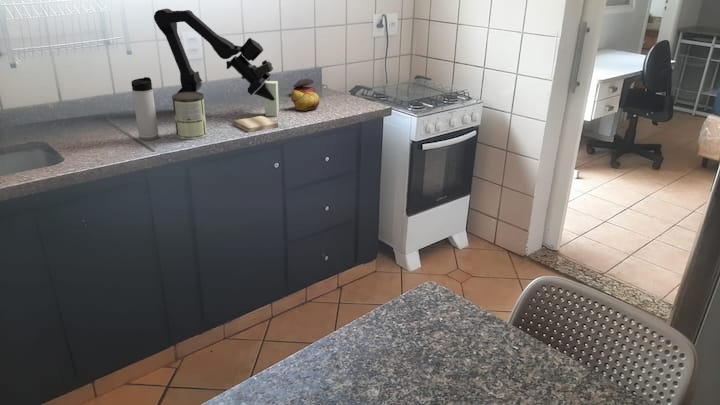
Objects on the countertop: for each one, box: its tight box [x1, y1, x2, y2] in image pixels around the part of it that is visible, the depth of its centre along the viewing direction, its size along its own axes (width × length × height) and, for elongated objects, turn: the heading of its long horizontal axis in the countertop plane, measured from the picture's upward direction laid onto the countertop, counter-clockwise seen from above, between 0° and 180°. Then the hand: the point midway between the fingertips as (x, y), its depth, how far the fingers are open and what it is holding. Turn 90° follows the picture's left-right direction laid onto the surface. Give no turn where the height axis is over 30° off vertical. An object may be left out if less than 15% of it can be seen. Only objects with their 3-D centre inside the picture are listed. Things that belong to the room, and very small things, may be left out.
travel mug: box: [131, 76, 160, 142], centre depth 181 cm, size 6×7×20 cm
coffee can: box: [171, 91, 208, 140], centre depth 186 cm, size 10×10×14 cm
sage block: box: [264, 80, 280, 117], centre depth 214 cm, size 4×4×13 cm
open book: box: [233, 115, 279, 133], centre depth 202 cm, size 12×12×2 cm
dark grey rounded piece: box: [292, 78, 316, 93], centre depth 248 cm, size 11×10×10 cm
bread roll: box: [290, 90, 320, 112], centre depth 226 cm, size 13×10×8 cm
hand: (275, 98), depth 214 cm, fingers open, 5 cm apart
